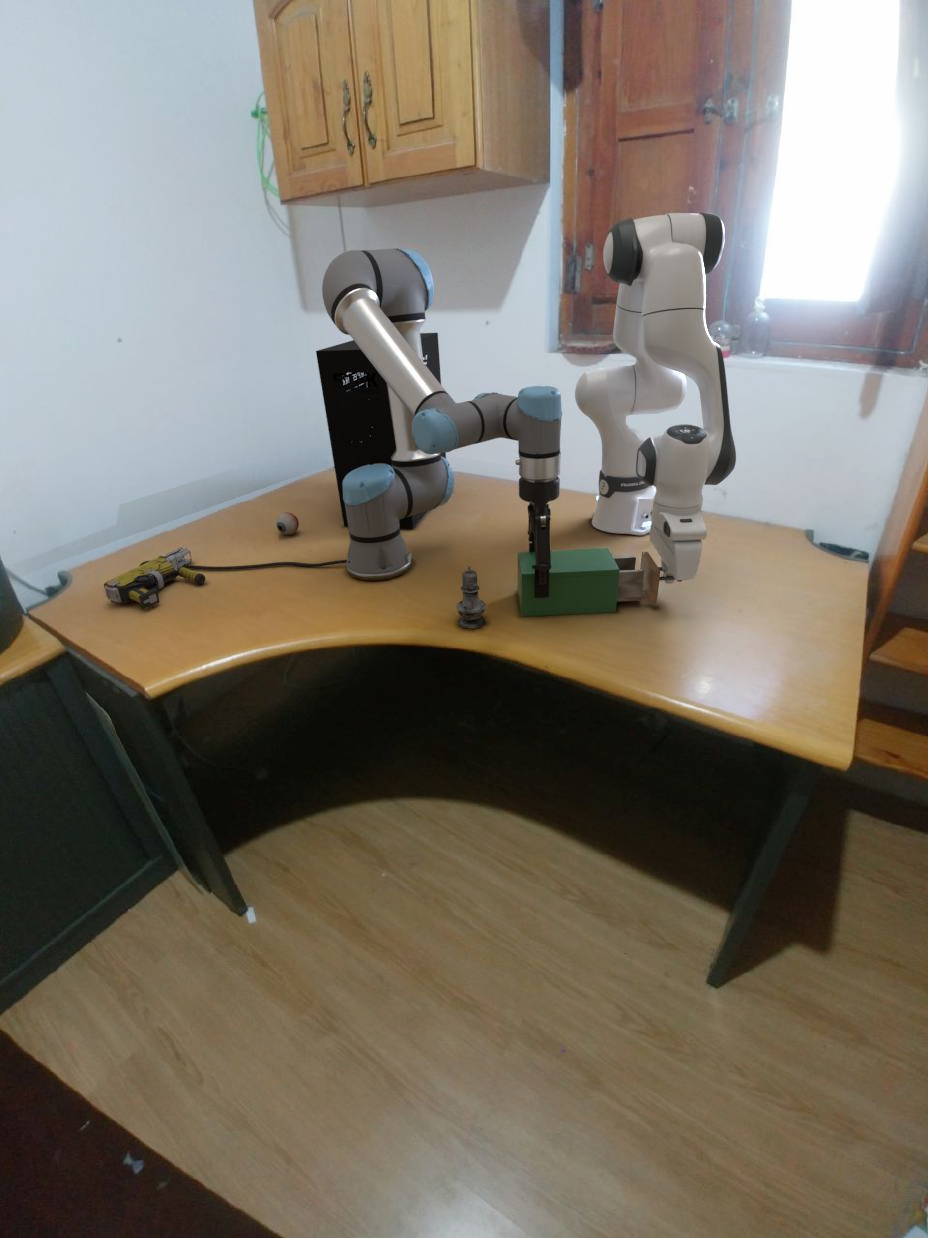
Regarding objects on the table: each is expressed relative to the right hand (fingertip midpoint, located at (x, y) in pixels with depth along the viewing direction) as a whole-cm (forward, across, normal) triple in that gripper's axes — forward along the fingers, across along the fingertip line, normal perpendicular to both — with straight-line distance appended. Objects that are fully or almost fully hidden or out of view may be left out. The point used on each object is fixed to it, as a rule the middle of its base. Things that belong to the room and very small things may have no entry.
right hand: (667, 580), depth 122 cm
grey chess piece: (+4, +7, -40) cm, 41 cm away
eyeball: (+4, -44, -90) cm, 100 cm away
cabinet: (+4, 0, -20) cm, 21 cm away
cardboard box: (+4, -64, -62) cm, 89 cm away
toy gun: (+4, -15, -110) cm, 111 cm away
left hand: (0, 0, -26) cm, 26 cm away
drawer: (+3, 0, -9) cm, 10 cm away
